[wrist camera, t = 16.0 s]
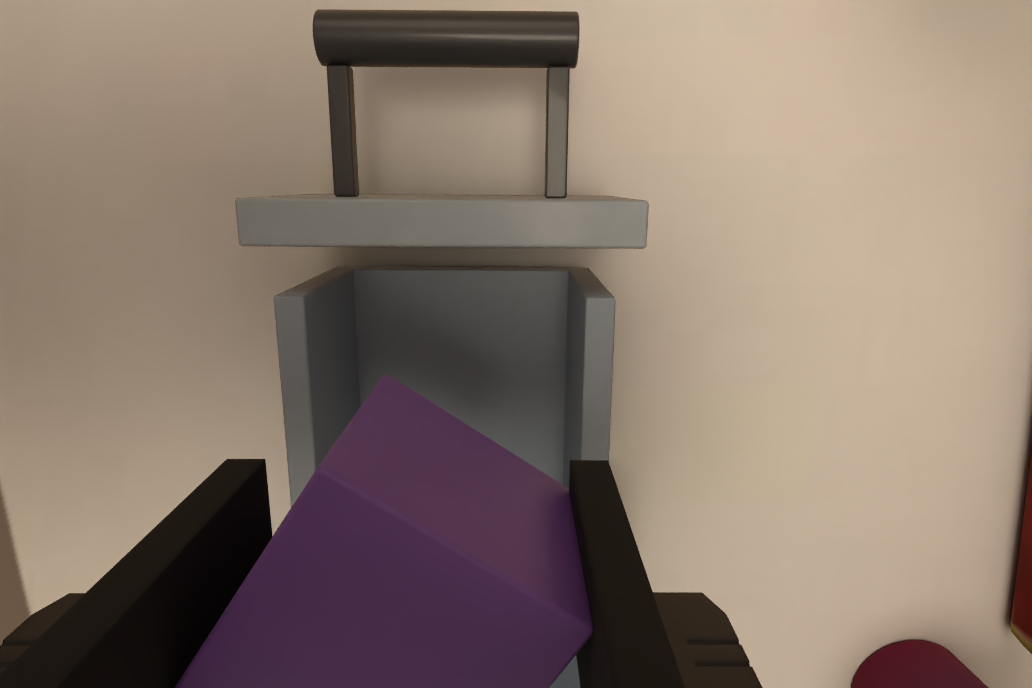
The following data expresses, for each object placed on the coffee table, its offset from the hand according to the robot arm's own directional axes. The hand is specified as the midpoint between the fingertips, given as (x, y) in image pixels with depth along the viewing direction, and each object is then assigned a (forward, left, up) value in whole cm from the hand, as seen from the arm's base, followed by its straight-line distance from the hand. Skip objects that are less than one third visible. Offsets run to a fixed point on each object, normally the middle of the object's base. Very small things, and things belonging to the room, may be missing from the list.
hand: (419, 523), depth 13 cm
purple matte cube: (0, 0, 0) cm, 0 cm away
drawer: (-1, +2, -12) cm, 12 cm away
